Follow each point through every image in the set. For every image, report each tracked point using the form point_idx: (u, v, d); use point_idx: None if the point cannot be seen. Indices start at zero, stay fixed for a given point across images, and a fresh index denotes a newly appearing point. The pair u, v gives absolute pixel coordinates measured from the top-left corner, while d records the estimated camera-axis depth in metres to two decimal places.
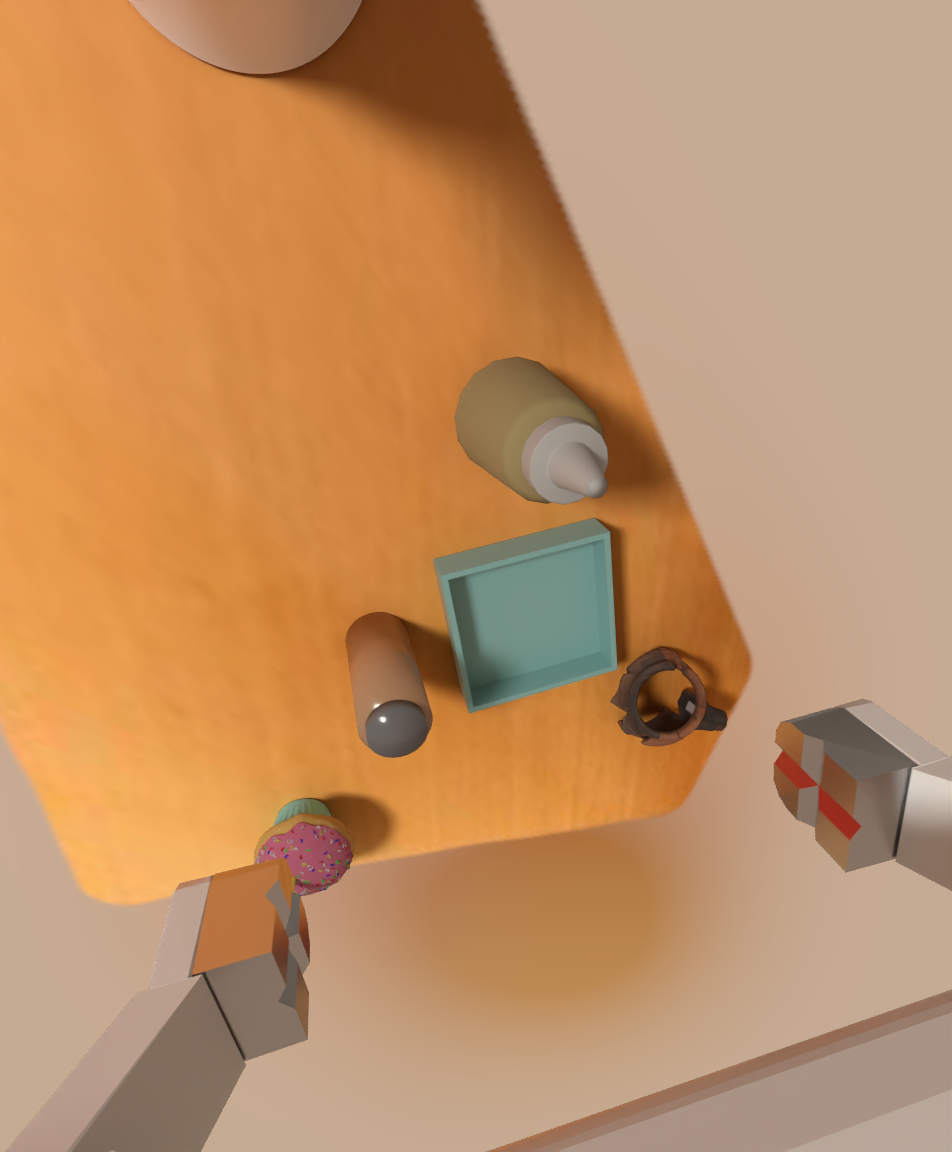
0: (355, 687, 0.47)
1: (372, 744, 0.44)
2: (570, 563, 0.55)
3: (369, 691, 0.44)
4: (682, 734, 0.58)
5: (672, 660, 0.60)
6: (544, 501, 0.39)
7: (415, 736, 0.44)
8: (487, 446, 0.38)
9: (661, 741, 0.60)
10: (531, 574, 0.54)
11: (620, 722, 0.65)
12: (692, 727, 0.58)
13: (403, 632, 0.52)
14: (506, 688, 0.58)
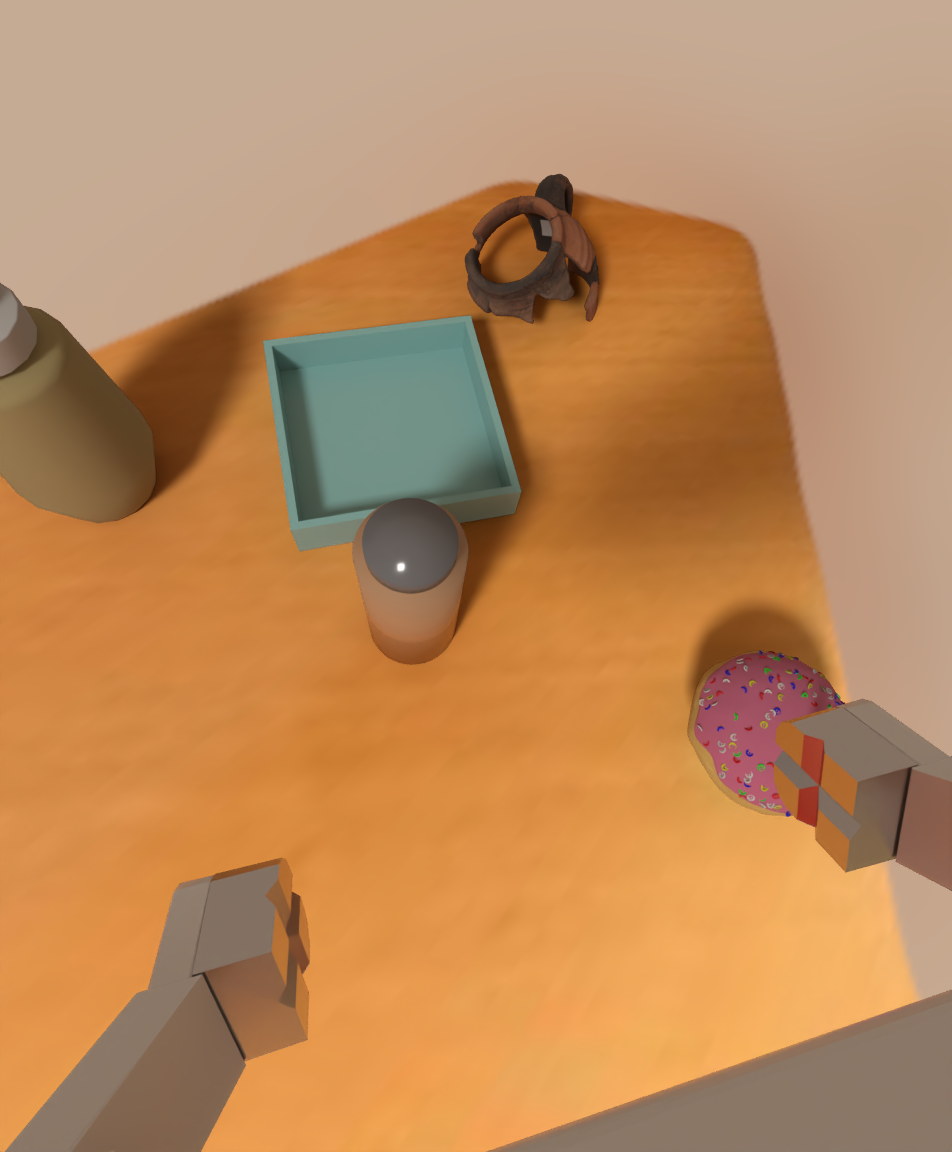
0: (391, 623, 0.31)
1: (425, 577, 0.28)
2: (326, 390, 0.44)
3: (366, 593, 0.30)
4: (552, 213, 0.43)
5: None
6: (63, 362, 0.30)
7: (421, 516, 0.29)
8: (8, 443, 0.31)
9: (573, 241, 0.44)
10: (335, 434, 0.43)
11: (586, 316, 0.49)
12: (543, 203, 0.43)
13: None
14: (496, 450, 0.42)
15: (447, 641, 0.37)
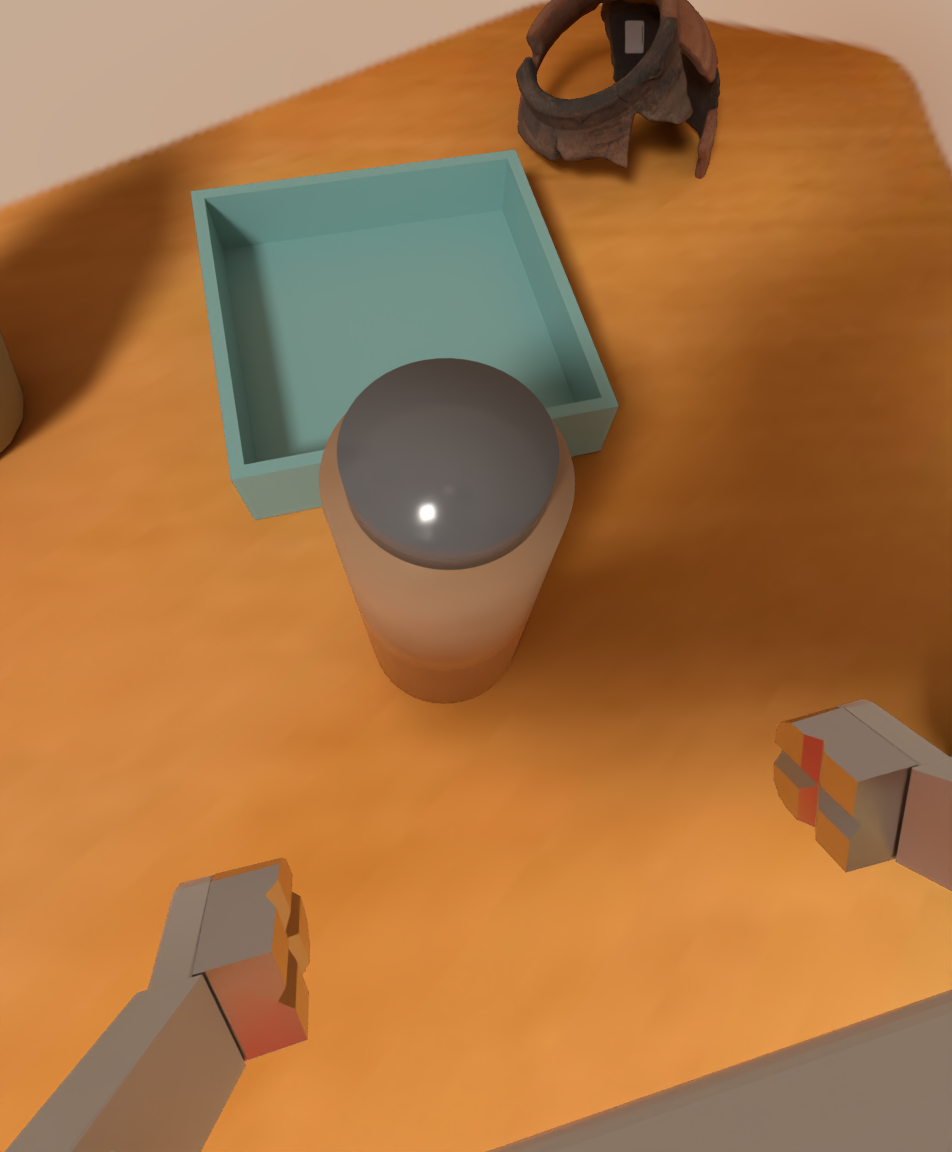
0: (410, 637, 0.15)
1: (488, 528, 0.12)
2: (296, 275, 0.28)
3: (354, 575, 0.14)
4: None
5: None
6: None
7: (471, 394, 0.13)
8: None
9: (691, 26, 0.28)
10: (311, 337, 0.27)
11: (697, 170, 0.33)
12: None
13: None
14: (568, 348, 0.26)
15: (507, 663, 0.21)
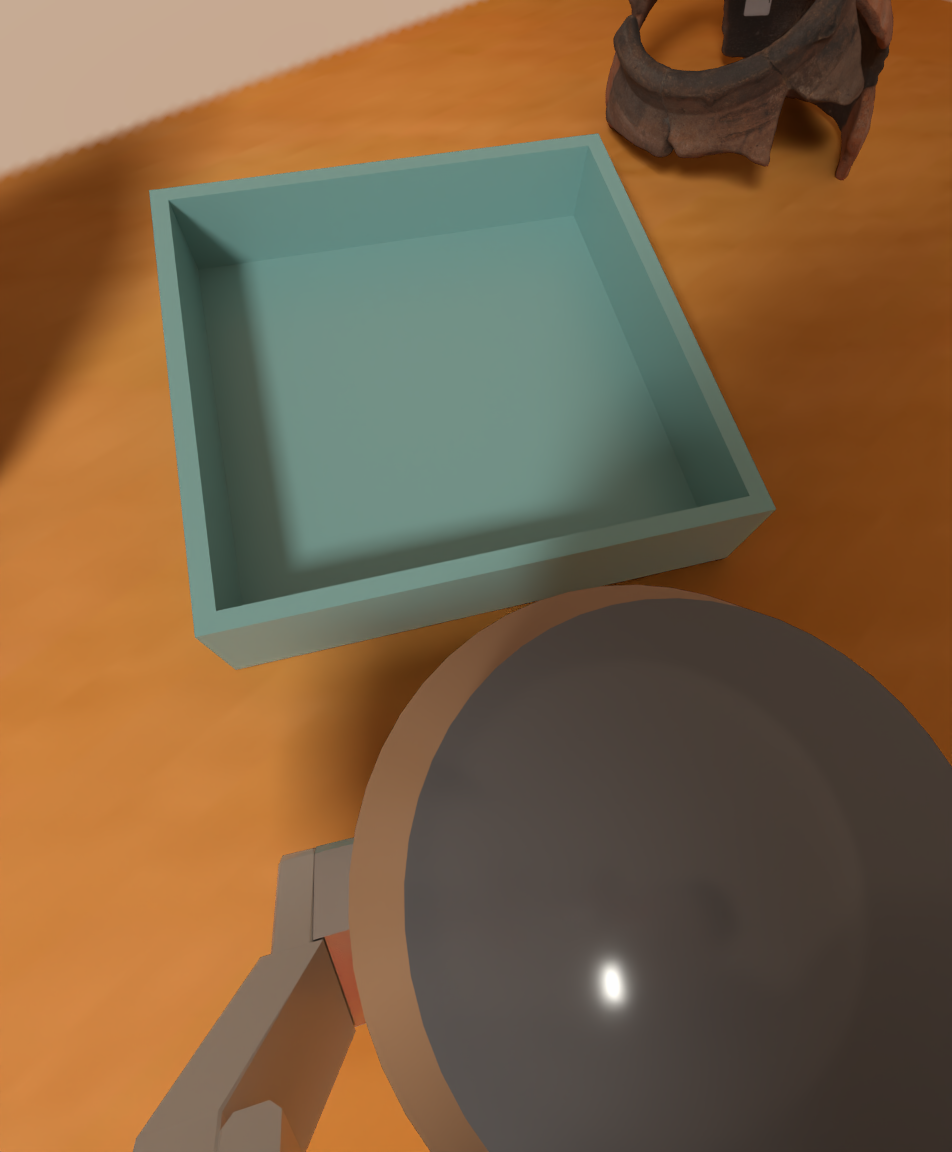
0: None
1: None
2: (297, 305, 0.21)
3: None
4: None
5: None
6: None
7: (742, 707, 0.05)
8: None
9: None
10: (318, 394, 0.20)
11: (841, 168, 0.25)
12: None
13: None
14: (683, 414, 0.18)
15: None
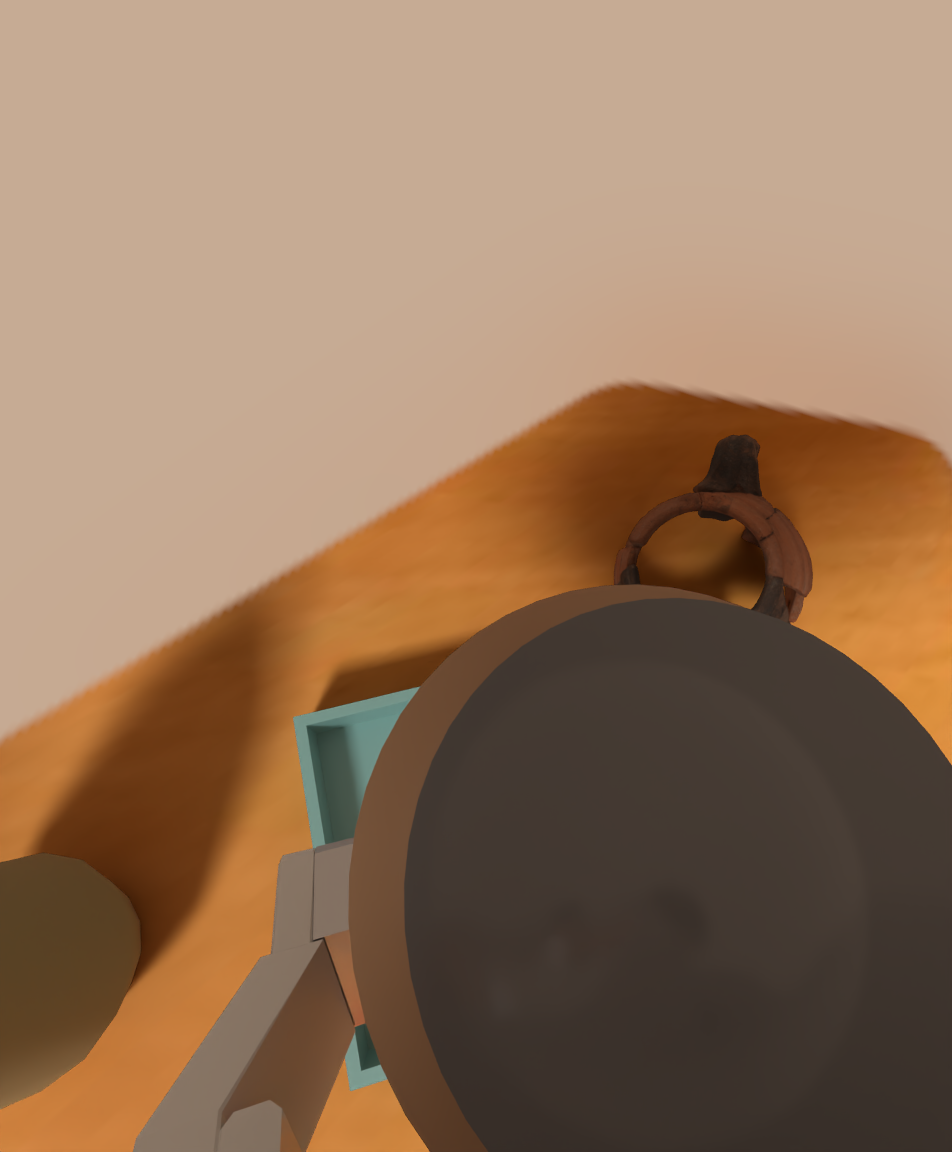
0: None
1: None
2: None
3: None
4: (763, 529, 0.28)
5: (624, 565, 0.32)
6: None
7: (743, 706, 0.05)
8: None
9: (792, 562, 0.29)
10: None
11: None
12: (745, 511, 0.29)
13: None
14: None
15: None
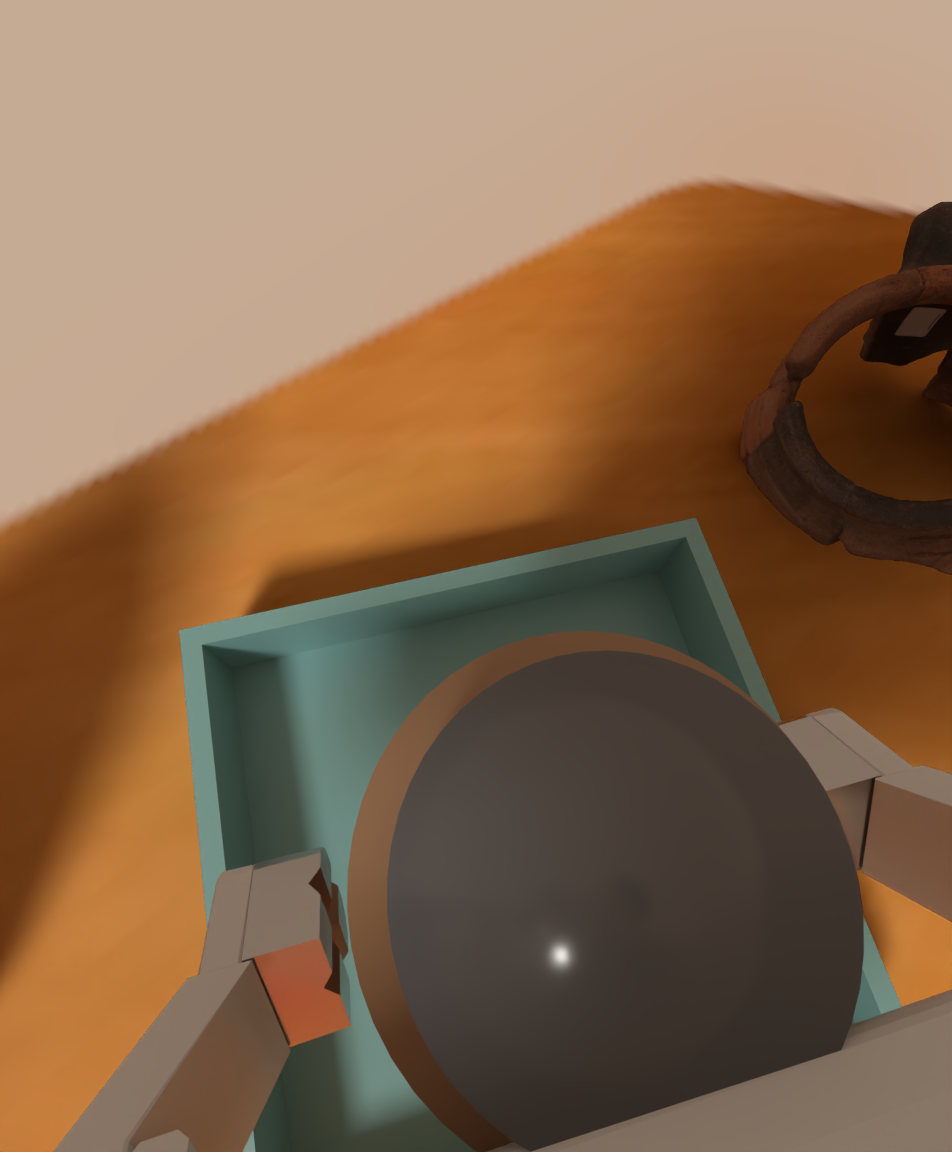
0: None
1: None
2: (347, 717, 0.18)
3: None
4: None
5: (770, 415, 0.20)
6: None
7: (657, 740, 0.06)
8: None
9: None
10: None
11: None
12: None
13: None
14: None
15: None
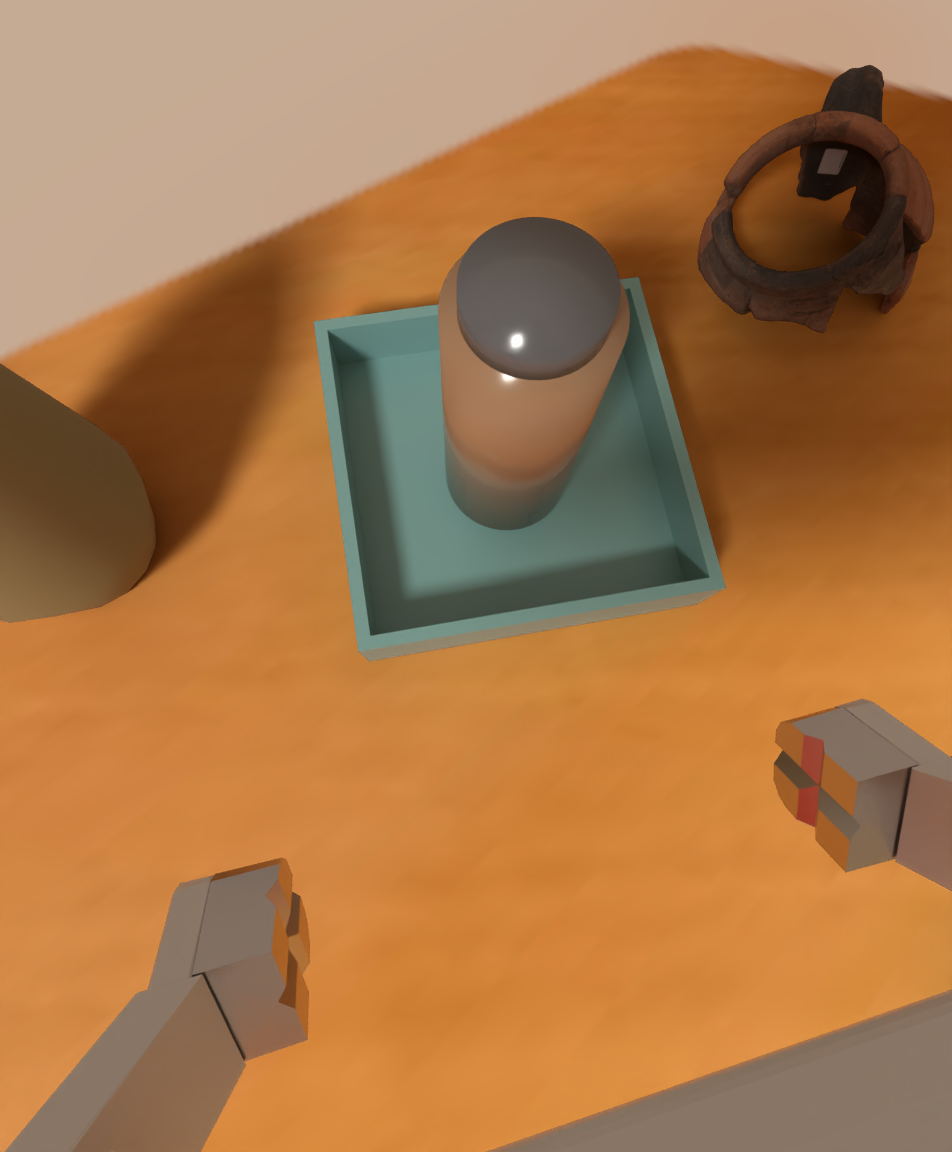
0: (491, 447, 0.20)
1: (564, 346, 0.16)
2: (409, 396, 0.29)
3: (457, 388, 0.18)
4: (889, 142, 0.25)
5: None
6: None
7: (557, 246, 0.17)
8: None
9: (916, 191, 0.26)
10: (423, 469, 0.28)
11: (885, 307, 0.31)
12: (868, 124, 0.25)
13: None
14: (677, 506, 0.27)
15: (557, 497, 0.26)
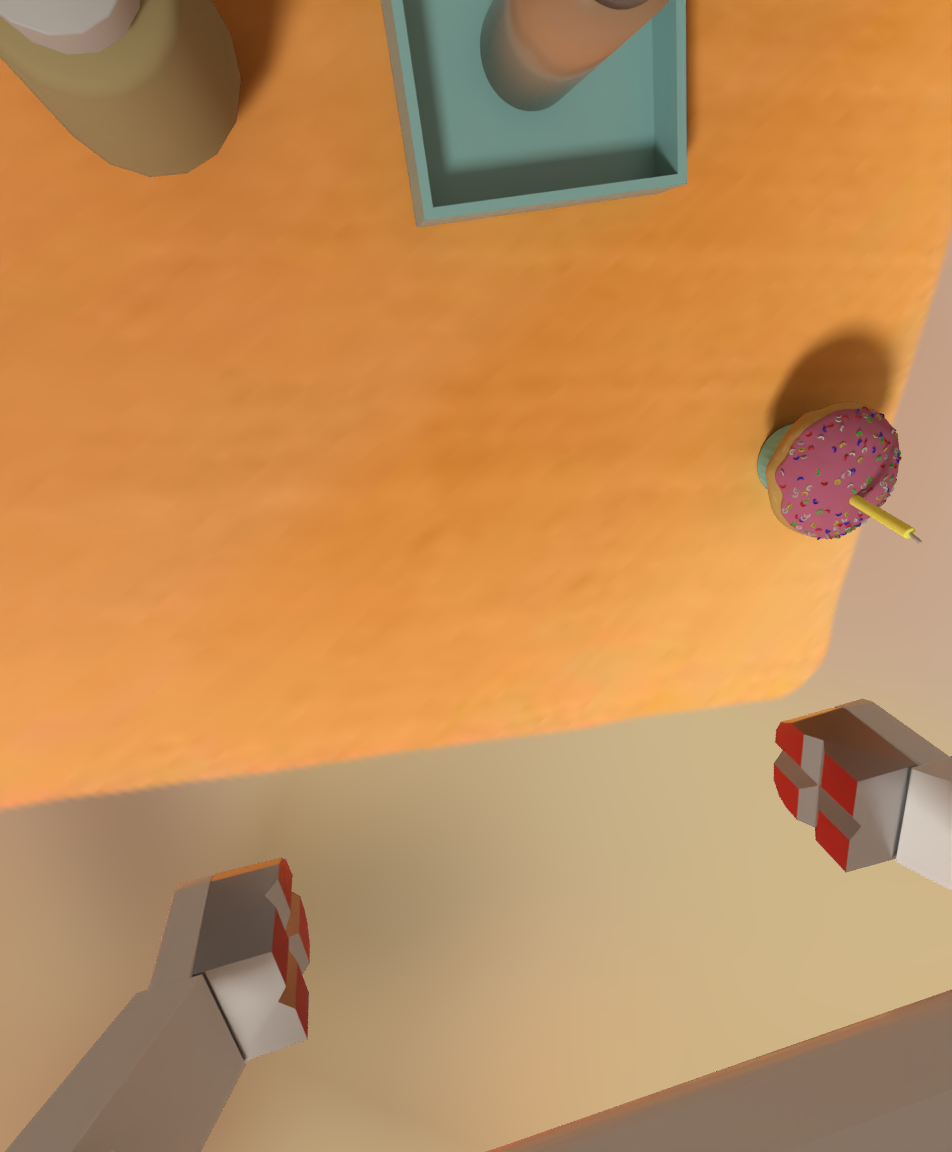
0: (557, 50, 0.26)
1: None
2: None
3: None
4: None
5: None
6: None
7: None
8: (111, 124, 0.23)
9: None
10: (460, 35, 0.31)
11: None
12: None
13: None
14: (665, 102, 0.33)
15: None
